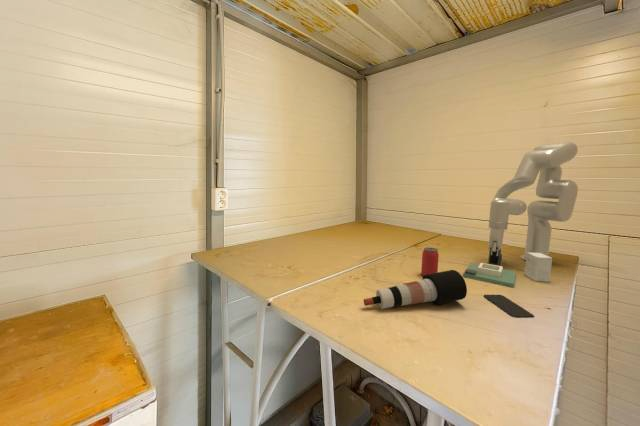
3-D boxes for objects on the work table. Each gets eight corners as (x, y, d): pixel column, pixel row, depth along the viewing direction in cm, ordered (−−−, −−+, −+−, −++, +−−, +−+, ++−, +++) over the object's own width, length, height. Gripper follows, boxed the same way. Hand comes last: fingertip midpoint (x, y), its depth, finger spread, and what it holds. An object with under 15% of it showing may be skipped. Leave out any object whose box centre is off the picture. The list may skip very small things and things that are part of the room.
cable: (363, 318, 89) (357, 287, 92) (452, 299, 95) (443, 271, 98) (373, 319, 80) (365, 285, 83) (471, 299, 86) (460, 268, 89)
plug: (489, 264, 132) (490, 247, 131) (501, 266, 129) (503, 248, 128) (488, 266, 128) (489, 248, 127) (500, 268, 125) (502, 250, 124)
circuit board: (470, 266, 129) (470, 261, 129) (515, 274, 118) (516, 269, 117) (462, 276, 115) (463, 271, 115) (513, 287, 104) (514, 281, 104)
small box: (549, 282, 109) (553, 258, 108) (534, 281, 110) (537, 257, 109) (538, 275, 117) (541, 252, 116) (524, 274, 118) (526, 251, 117)
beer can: (437, 274, 118) (439, 248, 116) (436, 279, 112) (438, 251, 110) (421, 271, 121) (423, 246, 119) (420, 276, 115) (422, 250, 113)
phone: (512, 316, 81) (482, 294, 96) (512, 318, 82) (481, 296, 96) (536, 316, 82) (501, 294, 96) (535, 318, 82) (501, 296, 97)
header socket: (480, 267, 122) (481, 262, 122) (502, 272, 117) (502, 266, 116) (477, 272, 116) (478, 267, 115) (500, 277, 110) (501, 271, 110)
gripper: (490, 222, 135) (487, 256, 137) (486, 227, 122) (482, 264, 124) (508, 224, 130) (505, 259, 133) (506, 229, 117) (502, 268, 120)
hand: (494, 261), depth 128 cm, fingers closed on plug, 4 cm apart
